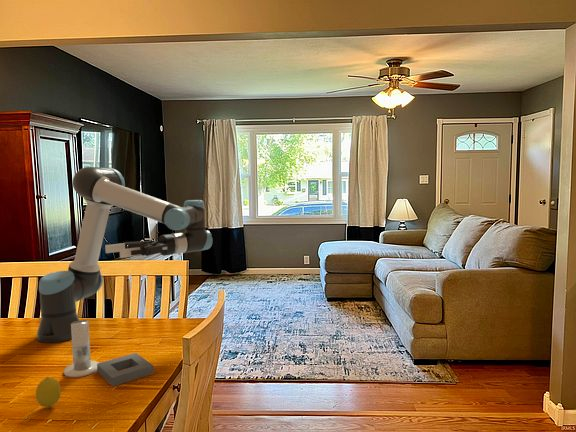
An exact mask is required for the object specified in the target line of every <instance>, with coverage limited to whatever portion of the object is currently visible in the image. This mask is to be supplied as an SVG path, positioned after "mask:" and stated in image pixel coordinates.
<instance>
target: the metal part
mask: <svg viewBox="0 0 576 432" xmlns="http://www.w3.org/2000/svg"><path fill="white" fill-rule="evenodd" d="M79 320H80V319H79ZM89 327H90V325H89V320H85V319H81V320H80V321H75V322H72V323H71V334H72V339H71V346H72V364H73V366H74V370H75V371H82V370H86V369H88V368H90V367H91V361H92V360H91V343H90V342H91V341H90V328H89Z"/></svg>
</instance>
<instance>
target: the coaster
mask: <svg viewBox="0 0 576 432" xmlns="http://www.w3.org/2000/svg"><path fill="white" fill-rule="evenodd" d="M98 363H100V362H99V361H96V360H91V367H90V368H88V369H86V370H82V371H75V370H74V366H73V363H72V364H70V365H68V366H66V367H65V368H64V370H63V375H64V376H65V377H68V378H81V377H85V376H90V375H92V374H95V373H97V364H98Z"/></svg>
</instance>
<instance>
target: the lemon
mask: <svg viewBox="0 0 576 432" xmlns="http://www.w3.org/2000/svg"><path fill="white" fill-rule="evenodd" d="M61 389H62V388H61V385H60V382H59V381H58V380H57V379H56V378H53V377H49V376H46V377H45V378H44V379H42V380H41V381H40V382H39V383H38V384H37V387H36V390H35V391H36V392H35V397H36V401H37V403H38V404H39V405H40V406H42V407H45V408H49V409H50V408H51V407H53V405H55V404H57V402H58V401H59V400H60V398H61V392H62V390H61Z"/></svg>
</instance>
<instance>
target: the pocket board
mask: <svg viewBox="0 0 576 432" xmlns="http://www.w3.org/2000/svg"><path fill="white" fill-rule="evenodd" d="M96 373H98V374H99V375H100V376H101V377H102V378H103V379H104V380H105V381H107V383H108V384H110V386H112V387H115V386H118V385H121V384H125V383H127V382H128V383H129V382H130V381H134V380H137V379H140V378H143V377H147V376H150V375H153V374H154V365H153V364H152V363H151V362H149V361H148V360H147V359H145V358H144V357H142V356H141V355H139V354H138V353H137V352H134V353H131V354H130V353H129V354H127V355H123V356H120V357H117V358H113V359H108V360H105V361H102V362H99V363H98V364H97V371H96Z"/></svg>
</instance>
